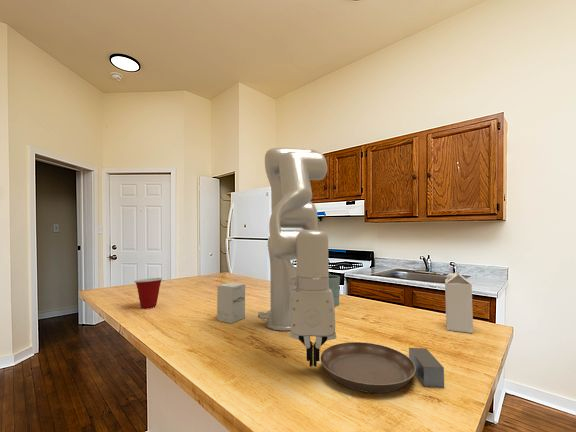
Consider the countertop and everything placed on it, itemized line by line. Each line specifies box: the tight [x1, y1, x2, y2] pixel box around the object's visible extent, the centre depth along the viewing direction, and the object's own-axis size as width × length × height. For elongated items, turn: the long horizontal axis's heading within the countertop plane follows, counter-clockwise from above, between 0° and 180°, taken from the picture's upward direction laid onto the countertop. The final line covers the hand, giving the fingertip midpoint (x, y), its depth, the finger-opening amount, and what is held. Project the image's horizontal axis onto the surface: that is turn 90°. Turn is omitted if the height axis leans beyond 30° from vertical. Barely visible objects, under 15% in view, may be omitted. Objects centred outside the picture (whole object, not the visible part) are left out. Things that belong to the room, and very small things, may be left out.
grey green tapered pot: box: [329, 274, 341, 307], centre depth 130 cm, size 10×10×12 cm
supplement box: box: [216, 282, 246, 324], centre depth 109 cm, size 7×7×13 cm
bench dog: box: [408, 347, 445, 388], centre depth 66 cm, size 4×10×4 cm, turn 174°
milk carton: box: [444, 268, 474, 334], centre depth 97 cm, size 7×7×19 cm
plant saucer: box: [320, 341, 416, 394], centre depth 68 cm, size 21×21×3 cm
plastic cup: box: [134, 277, 163, 310], centre depth 127 cm, size 11×11×12 cm
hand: (313, 363), depth 69 cm, fingers closed
